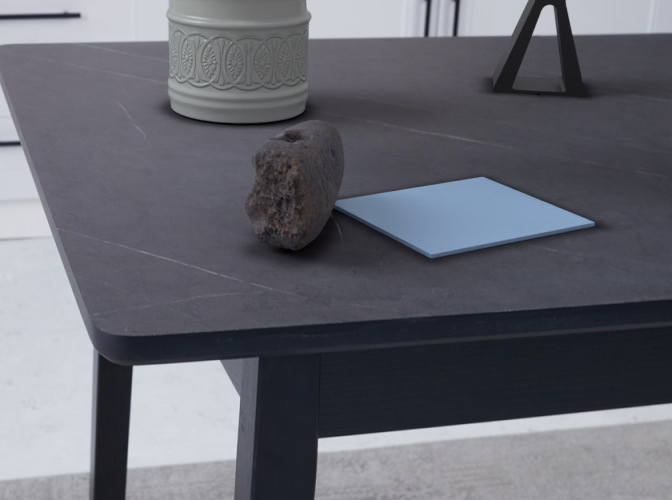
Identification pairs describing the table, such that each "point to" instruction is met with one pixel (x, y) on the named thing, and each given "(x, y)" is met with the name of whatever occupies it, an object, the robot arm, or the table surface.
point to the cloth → (459, 216)
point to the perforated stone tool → (295, 184)
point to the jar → (238, 59)
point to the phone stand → (517, 48)
